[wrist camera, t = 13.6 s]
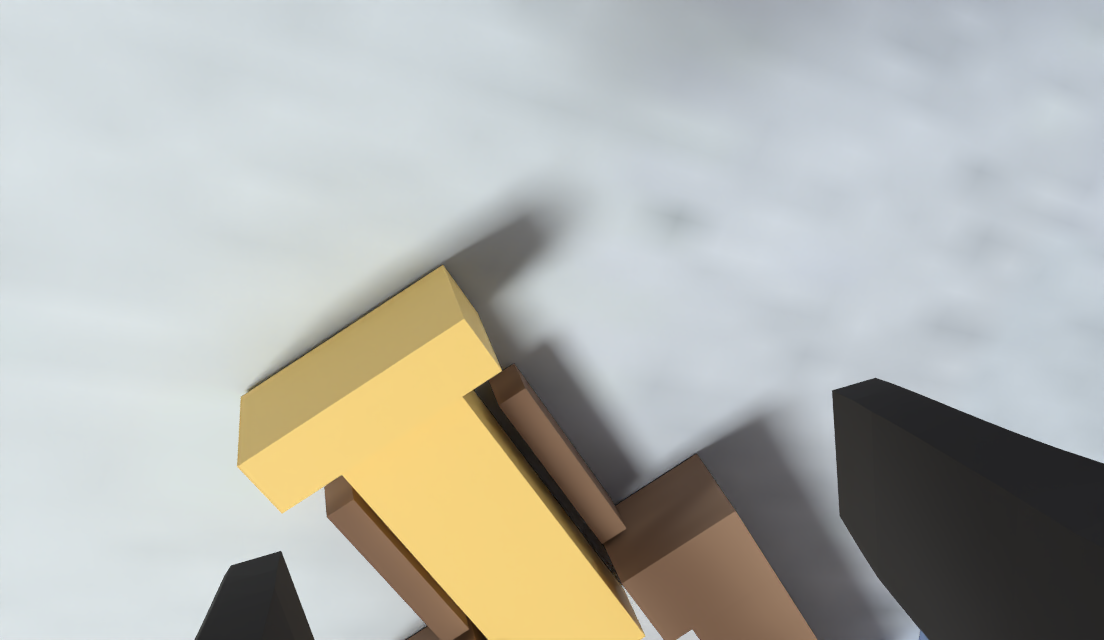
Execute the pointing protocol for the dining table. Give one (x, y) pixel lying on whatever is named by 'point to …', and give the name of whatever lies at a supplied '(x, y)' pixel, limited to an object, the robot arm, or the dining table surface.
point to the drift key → (433, 466)
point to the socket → (610, 543)
